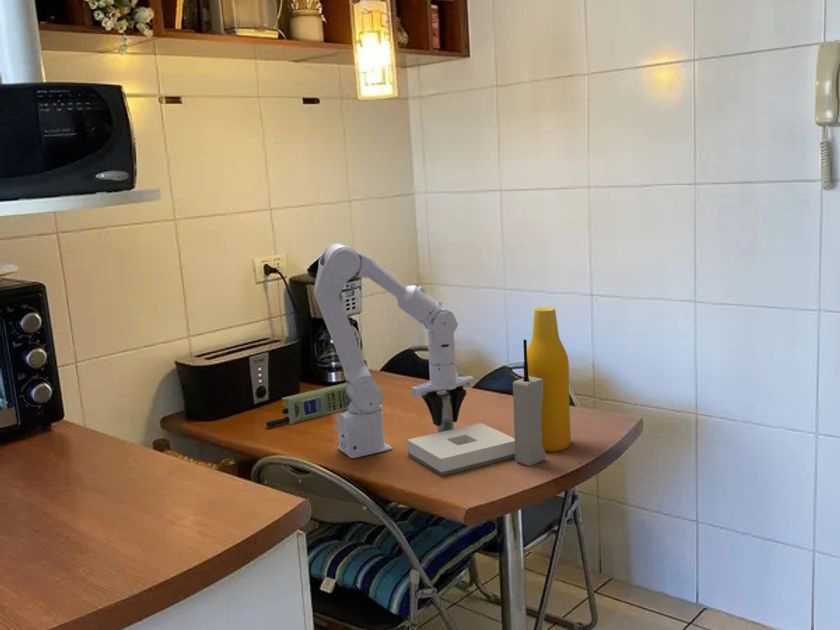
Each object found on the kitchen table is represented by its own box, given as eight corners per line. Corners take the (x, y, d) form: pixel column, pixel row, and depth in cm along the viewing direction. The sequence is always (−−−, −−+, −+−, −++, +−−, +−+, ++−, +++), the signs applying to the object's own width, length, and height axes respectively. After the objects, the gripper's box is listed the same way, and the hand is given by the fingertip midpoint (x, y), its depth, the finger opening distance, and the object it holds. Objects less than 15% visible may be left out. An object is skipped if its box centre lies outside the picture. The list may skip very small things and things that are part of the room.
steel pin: (443, 441, 182) (440, 397, 180) (434, 437, 185) (432, 393, 183) (457, 438, 183) (455, 394, 182) (448, 434, 186) (446, 390, 185)
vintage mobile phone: (545, 459, 168) (542, 337, 163) (530, 466, 164) (526, 342, 160) (531, 455, 170) (527, 335, 166) (515, 462, 167) (511, 340, 162)
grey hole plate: (441, 476, 162) (440, 458, 161) (408, 455, 174) (407, 439, 174) (518, 456, 170) (518, 440, 170) (481, 438, 182) (480, 422, 182)
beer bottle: (544, 434, 183) (541, 303, 177) (579, 443, 176) (577, 307, 171) (517, 446, 176) (512, 310, 171) (552, 455, 170) (548, 314, 164)
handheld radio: (360, 408, 211) (270, 431, 196) (353, 406, 213) (264, 428, 199) (357, 382, 210) (267, 403, 195) (350, 380, 212) (261, 401, 198)
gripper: (421, 371, 174) (425, 434, 177) (480, 360, 181) (483, 421, 183) (405, 365, 180) (409, 425, 183) (463, 354, 187) (466, 413, 189)
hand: (445, 422), depth 183 cm, fingers closed on steel pin, 4 cm apart
